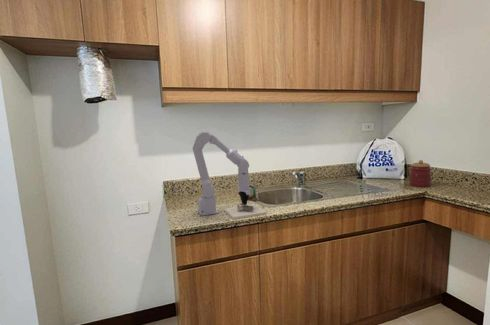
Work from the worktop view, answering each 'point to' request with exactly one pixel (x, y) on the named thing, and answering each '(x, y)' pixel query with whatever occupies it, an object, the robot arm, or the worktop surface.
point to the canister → (420, 174)
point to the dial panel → (244, 212)
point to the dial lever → (244, 207)
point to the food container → (252, 191)
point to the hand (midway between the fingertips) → (244, 204)
